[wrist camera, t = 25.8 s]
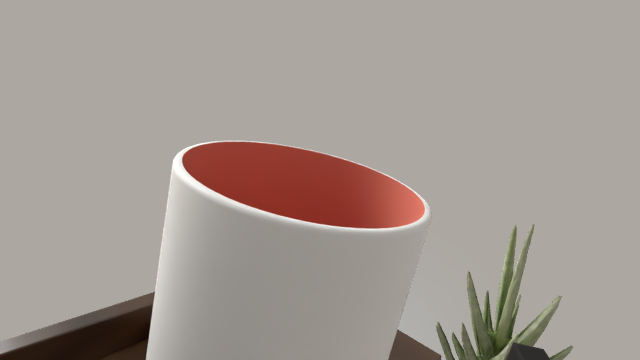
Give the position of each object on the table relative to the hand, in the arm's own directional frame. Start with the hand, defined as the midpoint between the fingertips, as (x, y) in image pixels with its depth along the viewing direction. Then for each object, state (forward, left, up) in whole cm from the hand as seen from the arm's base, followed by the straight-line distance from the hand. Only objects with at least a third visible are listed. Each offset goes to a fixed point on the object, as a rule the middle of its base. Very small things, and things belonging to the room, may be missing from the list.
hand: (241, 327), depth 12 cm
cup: (+5, +5, -8) cm, 11 cm away
